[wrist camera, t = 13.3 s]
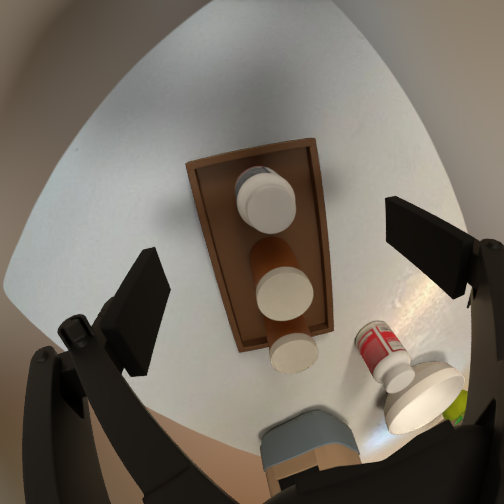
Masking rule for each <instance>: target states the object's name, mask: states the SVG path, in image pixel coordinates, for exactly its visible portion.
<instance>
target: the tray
mask: <svg viewBox="0 0 504 504" xmlns="http://www.w3.org/2000/svg"><path fill="white" fill-rule="evenodd" d="M185 165H186V169H187V173H188V177H189V181H190V185H191V189H192V193H193V197H194V200H195V204H196V208H197V212H198V216H199V219H200V223H201V227H202V231H203V234H204V238H205V242H206V245H207V249H208V252H209V256H210V259H211V263H212V266H213V270H214V273H215V277H216V280H217V283H218V287H219V290H220V294H221V297H222V300H223V303H224V307H225V310H226V313H227V316H228V320H229V323H230V326H231V329H232V332H233V336H234V339H235V342H236V345H237V348H238V351H239V353H240V352H246V351H251V350H256V349H261V348H266V347H269V345H268V340H267V335H266V330H265V325H264V320H263V315H262V312H261V311H260V309H259V307H258V304H257V299H256V288H255V283H254V277H253V272H252V267H251V261H250V253H251V250H252V248H253V246H254V245H255V244H256V243H257V242H258V241H260V240H261V239H263V238H266V237H278V238H281V239H283V240H284V241H286V242H287V243H288V245H289V246H290V248H291V250H292V252H293V253H294V255H295V257H296V259H297V261H298V263H299V265H300V266H301V268H302V270H303V272H304V274H305V275H306V276H307V277H308V279H309V281H310V283H311V285H312V288H313V299H312V302H311V304H310V306H309V308H308V309H307V310H306V311H305V312H304V313H303V316H304V318H305V321H306V323H307V326H308V328H309V331H310V333H311V336H312V337H313V336H317V335H321V334H325V333H328V332H332V331H334V320H333V297H332V279H331V265H330V252H329V241H328V230H327V221H326V211H325V203H324V195H323V187H322V179H321V172H320V165H319V159H318V152H317V146H316V139H315V138H305V139H298V140H291V141H285V142H279V143H273V144H267V145H262V146H257V147H251V148H246V149H241V150H237V151H232V152H227V153H223V154H218V155H214V156H210V157H206V158H201V159H197V160H193V161H190V162H187V163H186V164H185ZM254 166H264V167H267V168H270V169H272V170H273V171H275V172H276V173H277V174H278V175H280V176H281V177H282V178H284V179H285V180H286V181H287V182H288V183H289V184H290V185H291V187H292V189H293V191H294V194H295V204H296V214H295V218H294V220H293V222H292V223H291V224H290V226H289V227H288V228H286V229H285V230H283V231H281V232H279V233H275V234H267V233H263V232H260V231H258V230H257V229H255V228H254V227H252V226H250V225H248V224H247V223H246V222H245V221H244V220H243V219H242V217H241V216H240V214H239V211H238V208H237V203H236V197H235V184H236V181H237V179H238V177H239V176H240V175H241V174H242V173H243V172H244V171H245V170H247V169H248V168H251V167H254Z"/></svg>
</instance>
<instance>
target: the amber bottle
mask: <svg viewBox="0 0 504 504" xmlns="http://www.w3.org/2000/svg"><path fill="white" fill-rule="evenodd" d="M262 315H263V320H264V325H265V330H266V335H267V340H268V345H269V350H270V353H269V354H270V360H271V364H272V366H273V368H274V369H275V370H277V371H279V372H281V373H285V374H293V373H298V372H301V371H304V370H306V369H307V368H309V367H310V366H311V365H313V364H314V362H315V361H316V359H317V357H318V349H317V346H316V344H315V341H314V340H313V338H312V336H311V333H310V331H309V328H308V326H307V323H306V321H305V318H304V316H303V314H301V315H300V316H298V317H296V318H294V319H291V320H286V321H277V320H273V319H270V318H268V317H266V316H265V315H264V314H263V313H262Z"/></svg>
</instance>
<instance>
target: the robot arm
mask: <svg viewBox="0 0 504 504" xmlns="http://www.w3.org/2000/svg"><path fill="white" fill-rule="evenodd" d="M385 206H386V242H387V243H389V244H390V245H391V246H392V247H394V248H395V249H396V250H397V251H398V252H400V253H401V254H402V255H403V256H404V257H406V258H407V259H408V260H409V261H410V262H412V263H413V264H414V265H415V266H416V267H418V268H419V269H420V270H421V271H422V272H423V273H424V274H426V275H427V276H428V277H429V278H430V279H431V280H432V281H433V282H435V283H436V284H437V285H438V286H439V287H440V288H441V289H442V290H443V291H445V292H446V293H447V294H448V295H449V296H450V297H451V298H452V299H456V298H458V297H460V296H462V295H464V294H465V290H466V285H467V283H468V284H470V285H471V286H472V289H471V293H470V297H469V301H468V305H467V308H469V306H470V305H471V329H472V333H471V364H470V377H469V387H468V395H467V403H466V410H465V415H464V419H463V421H462V424H461V425H458V426H452V424H451V422H450V420H449V419H447V420H446V421H444V422H442V423H440V424H439V425H437V426H435V427H433V428H431V429H429V430H427V431H425V432H423V433H421V434H419V435H417V436H416V437H415V438H413V439H412V440H411V441H410V442H408V443H407V444H406V445H404V446H403V447H402V448H400V449H399V450H398V451H396V452H395V453H393V454H392V455H391V456H389V457H388V458H386V459H385V460H382V461H379V462H372V463H365V464H356V465H346V466H336V467H333V468H329V469H325V470H321V471H318V472H313V473H309V474H305V475H300V476H296V477H294V479H295V485H293V486H291V487H289V488H286V489H284V490H283V491H281V492H279V493H277V494H276V495H274V496H273V497H271V498H270V499H268V500H267V501H266V502H265V503H263V504H504V245H503V244H502V243H501V242H499V241H496V240H494V239H483V240H482V241H479V240H477V239H475V238H474V237H472V236H470V235H469V234H467V233H465V232H464V231H462V230H460V229H458V228H457V227H455V226H453V225H451V224H450V223H448V222H446V221H444V220H442V219H440V218H439V217H437V216H435V215H433V214H431V213H429V212H427V211H425V210H423V209H421V208H419V207H417V206H415V205H413V204H411V203H409V202H407V201H405V200H403V199H401V198H399V197H397V196H393V197H387V198H385ZM170 291H171V289H170V286H169V284H168V281H167V278H166V276H165V273H164V270H163V268H162V265H161V262H160V259H159V257H158V254H157V251H156V248H155V247H152V248H148V249H144V250H142V252H141V253H140V255H139V256H138V258H137V259H136V261H135V263H134V264H133V266H132V267H131V269H130V271H129V272H128V274H127V275H126V277H125V279H124V280H123V282H122V284H121V285H120V287H119V289H118V291H117V292H116V294H115V296H114V297H111V298H110V299H109V300H108V301H107V302H106V303H105V304H104V306H103V307H102V309H101V312H99V314H98V317H97V318H96V319H95V321H94V323H93V325H92V327H91V326H90V324H89V322H88V320H87V319H86V317H85V316H84V315H82V314H78V315H74V316H72V317H70V318H68V319H66V320H65V321H64V322H63V323H62V324H61V325H60V326H59V328H58V335H59V336H60V338H61V339H62V341H63V342H64V344H65V345H66V347H67V348H68V350H69V351H66V352H63V353H60V354H57V352H56V351H55V350H54V348H53V347H52V346H46V347H43V348H41V349H39V350H38V351H36V352H35V354H34V356H33V357H32V359H31V363H30V368H29V374H28V381H27V388H26V396H25V406H24V418H23V439H22V461H23V481H24V493H25V501H26V504H111V503H110V500H109V497H108V493H107V490H106V487H105V483H104V480H103V476H102V472H101V468H100V464H99V460H98V456H97V451H96V447H95V442H94V436H93V431H92V425H91V419H90V413H89V406H88V400H89V402H90V404H91V406H92V408H93V410H94V412H95V414H96V416H97V418H98V420H99V422H100V424H101V426H102V428H103V430H104V432H105V433H106V435H107V437H108V439H109V441H110V442H111V444H112V446H113V447H114V449H115V451H116V453H117V454H118V456H119V458H120V459H121V461H122V462H123V464H124V466H125V467H126V469H127V470H128V471H129V473H130V474H131V476H132V478H133V479H134V480H135V482H136V483H137V485H138V486H139V487H140V489H141V490H142V492H143V493H144V498H143V499H142V500H143V503H144V504H239V503H238V502H237V501H236V500H235V499H233V498H232V497H231V496H230V495H228V494H227V493H226V492H225V491H224V490H223V489H221V488H220V487H219V486H218V485H217V484H216V483H215V482H214V481H213V480H212V479H210V478H209V477H208V476H207V475H206V474H205V473H204V472H203V471H202V470H201V469H200V468H199V467H198V466H197V465H196V464H195V463H194V462H193V461H192V460H191V459H190V458H189V457H188V456H187V455H186V454H185V453H184V452H183V451H182V450H181V448H180V447H179V446H178V445H177V444H176V443H175V442H174V441H173V440H172V439H171V437H170V436H169V435H168V434H167V433H166V432H165V431H164V430H163V428H162V427H161V426H160V425H159V423H158V422H157V421H156V420H155V419H154V417H153V416H152V415H151V414H150V412H149V411H148V410H147V409H146V407H145V406H144V405H143V403H142V402H141V401H140V399H139V398H138V397H137V395H136V394H135V393H134V391H133V390H132V389H131V387H130V386H129V384H128V383H127V381H126V380H125V379H124V377H123V376H122V372H123V369H124V368H125V369H126V371H127V372H128V374H129V375H130V377H136V376H147V373H148V369H149V365H150V361H151V357H152V353H153V349H154V346H155V342H156V338H157V335H158V331H159V328H160V324H161V321H162V317H163V314H164V310H165V307H166V304H167V300H168V297H169V294H170Z"/></svg>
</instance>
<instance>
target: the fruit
mask: <svg viewBox="0 0 504 504" xmlns="http://www.w3.org/2000/svg"><path fill="white" fill-rule="evenodd" d="M467 395H468V392H467V391H465V390H461V392H460V394H459V395H458V396H457V398H456V399H455V400H454V401H453V403H452V404H451V405H450V406H449V407H448V408H447V409H446V410H445V411H443V412H442V413H443V416H444V418H445V419H446V420H447V419H449V420H450V421H454V420H457V422H456V423H455V425H456V424H458V423H459V422H460V421H461V420H462V419H463V418H462V417H463V416H464V415H465V410H466V403H467Z"/></svg>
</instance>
